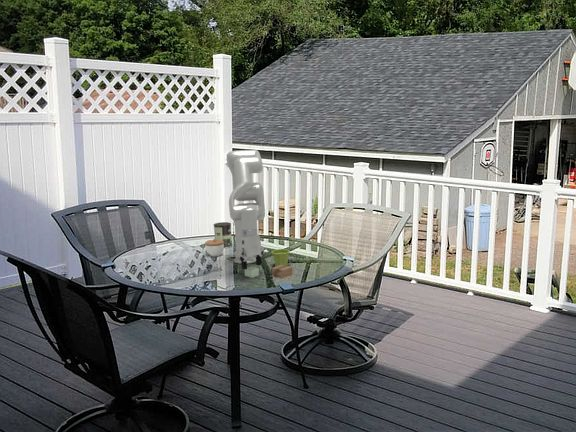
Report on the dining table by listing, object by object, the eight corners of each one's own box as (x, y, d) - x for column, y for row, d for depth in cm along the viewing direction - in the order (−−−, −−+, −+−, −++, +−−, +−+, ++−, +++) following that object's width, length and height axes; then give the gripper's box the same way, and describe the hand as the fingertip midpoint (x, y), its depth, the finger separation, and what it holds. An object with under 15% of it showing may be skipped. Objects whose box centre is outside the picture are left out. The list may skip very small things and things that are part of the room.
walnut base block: (272, 275, 295) (271, 267, 294) (282, 272, 300) (281, 264, 299) (282, 278, 290) (282, 270, 289) (292, 274, 295) (292, 266, 294)
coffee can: (233, 244, 368) (231, 221, 365) (231, 248, 357) (230, 225, 355) (216, 245, 368) (214, 222, 365) (214, 249, 358) (212, 225, 355)
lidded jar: (221, 251, 351) (220, 236, 349) (227, 255, 341) (226, 239, 339) (203, 254, 346) (202, 238, 344) (209, 258, 337) (208, 242, 335)
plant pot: (284, 271, 307) (283, 254, 305) (268, 268, 312) (268, 252, 310) (293, 266, 314) (293, 250, 313) (278, 264, 319) (278, 248, 318)
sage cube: (244, 278, 296) (244, 268, 296) (252, 276, 300) (251, 266, 299) (252, 280, 293) (251, 270, 292) (259, 277, 297) (258, 268, 296)
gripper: (242, 236, 283) (244, 271, 286) (267, 230, 296) (269, 264, 298) (231, 234, 288) (233, 269, 291) (257, 229, 301) (259, 262, 303)
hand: (251, 267), depth 295 cm, fingers open, 9 cm apart
